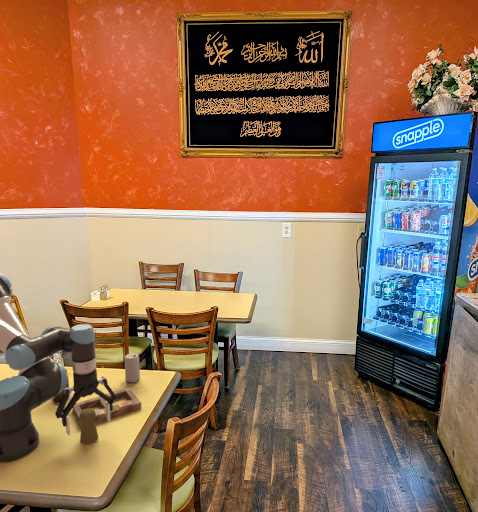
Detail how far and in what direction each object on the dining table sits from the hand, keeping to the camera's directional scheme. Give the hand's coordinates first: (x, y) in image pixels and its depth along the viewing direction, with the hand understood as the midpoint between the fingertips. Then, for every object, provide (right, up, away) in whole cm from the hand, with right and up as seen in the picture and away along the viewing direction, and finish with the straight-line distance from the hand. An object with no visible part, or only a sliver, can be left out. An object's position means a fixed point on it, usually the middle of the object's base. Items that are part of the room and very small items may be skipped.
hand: (88, 426), depth 136 cm
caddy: (0, -2, +19) cm, 19 cm away
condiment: (-22, 0, +27) cm, 35 cm away
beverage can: (+4, +2, +43) cm, 43 cm away
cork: (0, -5, +1) cm, 5 cm away
